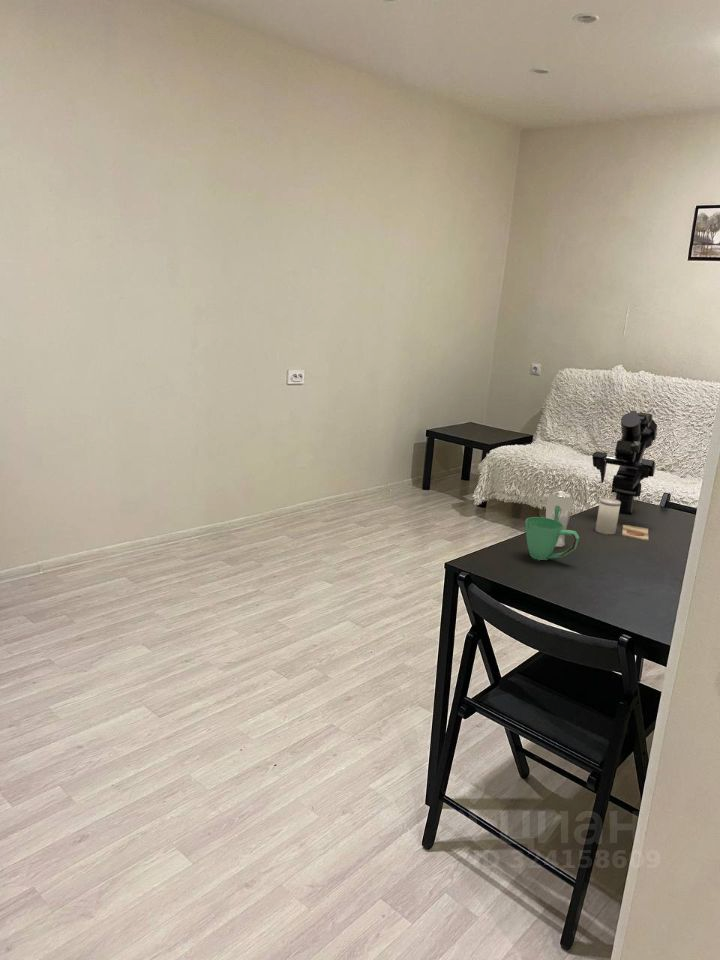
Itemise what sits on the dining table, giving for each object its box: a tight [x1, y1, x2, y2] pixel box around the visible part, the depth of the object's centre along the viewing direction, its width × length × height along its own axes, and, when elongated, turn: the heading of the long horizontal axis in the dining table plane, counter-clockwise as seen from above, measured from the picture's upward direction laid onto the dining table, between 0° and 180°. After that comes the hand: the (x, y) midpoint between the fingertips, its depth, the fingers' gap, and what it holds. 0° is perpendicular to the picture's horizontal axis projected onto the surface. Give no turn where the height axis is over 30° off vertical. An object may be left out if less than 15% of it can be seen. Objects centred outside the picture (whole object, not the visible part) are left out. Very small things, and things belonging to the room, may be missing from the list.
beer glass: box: [545, 490, 574, 548], centre depth 209 cm, size 7×7×15 cm
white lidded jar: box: [594, 497, 621, 536], centre depth 225 cm, size 6×6×10 cm
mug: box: [524, 516, 580, 561], centre depth 196 cm, size 15×10×10 cm
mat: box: [621, 524, 649, 542], centre depth 226 cm, size 12×8×1 cm, turn 160°
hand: (616, 485), depth 229 cm, fingers open, 9 cm apart
